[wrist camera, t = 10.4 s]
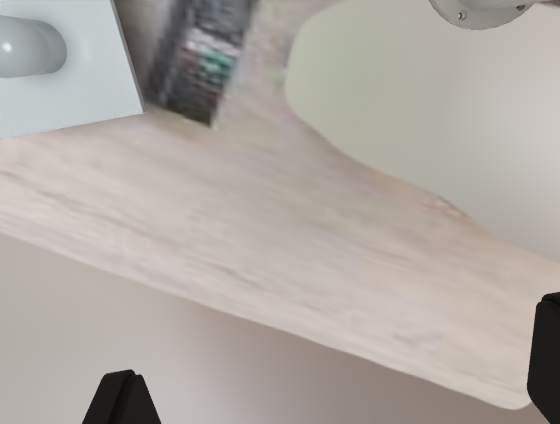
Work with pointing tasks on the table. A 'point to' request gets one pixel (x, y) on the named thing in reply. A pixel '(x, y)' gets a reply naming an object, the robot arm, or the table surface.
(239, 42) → the table surface
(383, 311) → the table surface
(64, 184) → the table surface
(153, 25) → the table surface
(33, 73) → the lid
